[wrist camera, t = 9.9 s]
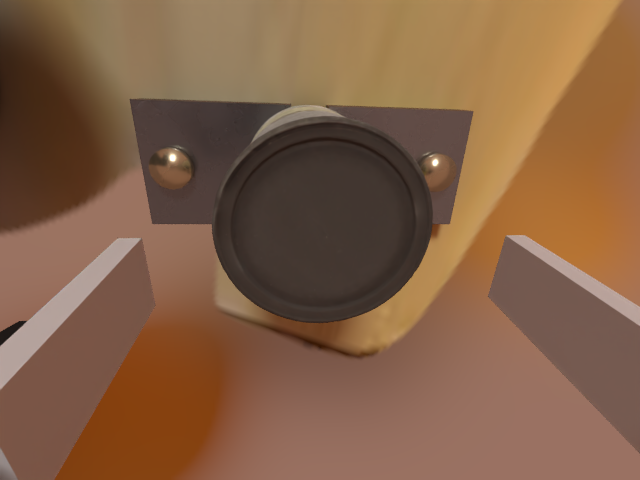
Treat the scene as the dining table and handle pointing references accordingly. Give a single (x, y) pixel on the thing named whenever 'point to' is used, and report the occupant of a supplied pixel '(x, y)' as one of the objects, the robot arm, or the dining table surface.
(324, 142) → the coffee can
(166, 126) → the left end plate
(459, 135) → the right end plate
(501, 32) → the dining table surface
